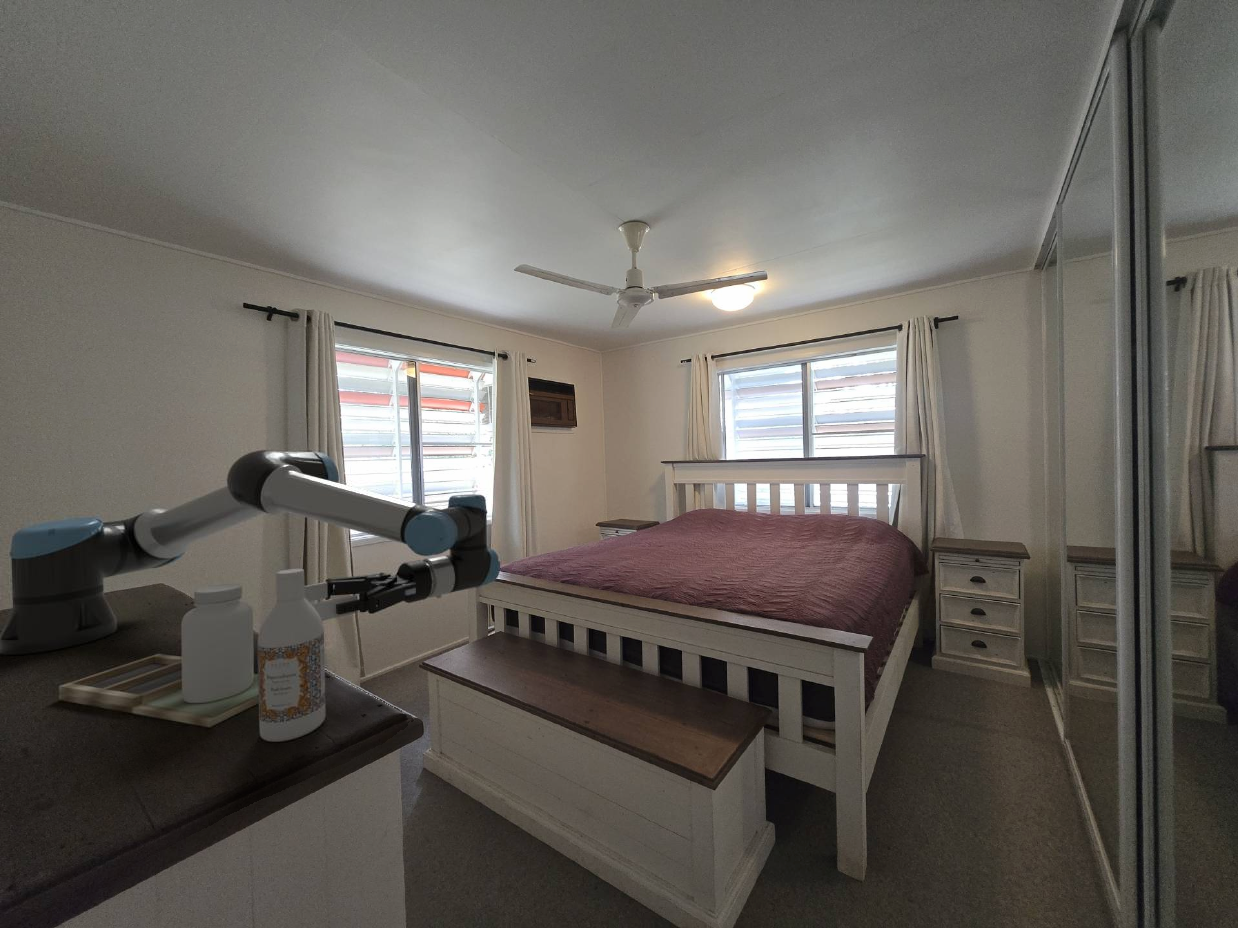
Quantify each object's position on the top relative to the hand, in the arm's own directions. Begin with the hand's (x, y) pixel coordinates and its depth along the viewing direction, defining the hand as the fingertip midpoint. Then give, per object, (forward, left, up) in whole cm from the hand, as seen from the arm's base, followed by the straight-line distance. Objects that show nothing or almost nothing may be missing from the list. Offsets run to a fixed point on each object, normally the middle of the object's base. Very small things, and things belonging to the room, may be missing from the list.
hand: (295, 605), depth 76 cm
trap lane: (-4, -14, -11) cm, 19 cm away
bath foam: (+18, 0, -11) cm, 22 cm away
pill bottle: (+2, -9, -10) cm, 14 cm away
